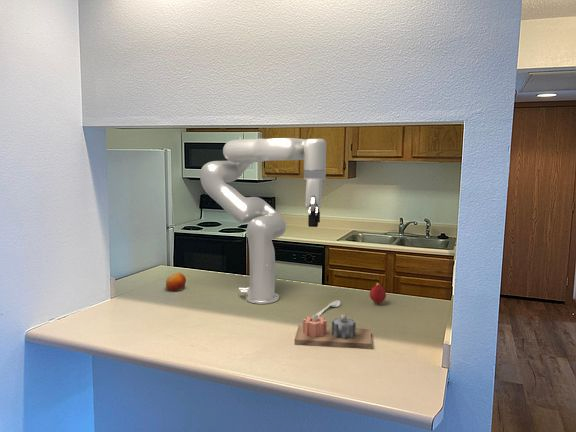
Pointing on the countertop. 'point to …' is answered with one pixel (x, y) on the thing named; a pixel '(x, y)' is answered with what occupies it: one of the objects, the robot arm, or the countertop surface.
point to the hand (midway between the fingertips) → (314, 224)
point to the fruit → (176, 282)
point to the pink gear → (314, 327)
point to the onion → (378, 294)
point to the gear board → (337, 335)
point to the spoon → (329, 306)
